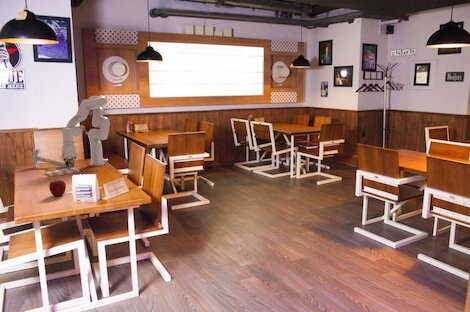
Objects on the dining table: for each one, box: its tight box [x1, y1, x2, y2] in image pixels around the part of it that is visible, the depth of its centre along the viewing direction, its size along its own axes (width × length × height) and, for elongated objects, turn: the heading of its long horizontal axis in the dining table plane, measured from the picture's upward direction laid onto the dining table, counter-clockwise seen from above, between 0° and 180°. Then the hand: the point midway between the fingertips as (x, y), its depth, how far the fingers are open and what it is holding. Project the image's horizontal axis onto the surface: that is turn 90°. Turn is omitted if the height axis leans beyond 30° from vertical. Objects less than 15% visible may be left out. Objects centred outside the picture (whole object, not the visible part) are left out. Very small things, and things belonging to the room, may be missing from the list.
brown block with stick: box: [67, 157, 75, 167], centre depth 312 cm, size 4×10×6 cm, turn 46°
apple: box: [48, 180, 67, 197], centre depth 242 cm, size 10×10×10 cm
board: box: [44, 166, 80, 177], centre depth 310 cm, size 22×12×2 cm, turn 136°
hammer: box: [31, 148, 66, 169], centre depth 331 cm, size 16×5×30 cm
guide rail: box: [44, 165, 75, 172], centre depth 313 cm, size 22×1×2 cm, turn 136°
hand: (70, 165), depth 315 cm, fingers closed on brown block with stick, 4 cm apart
